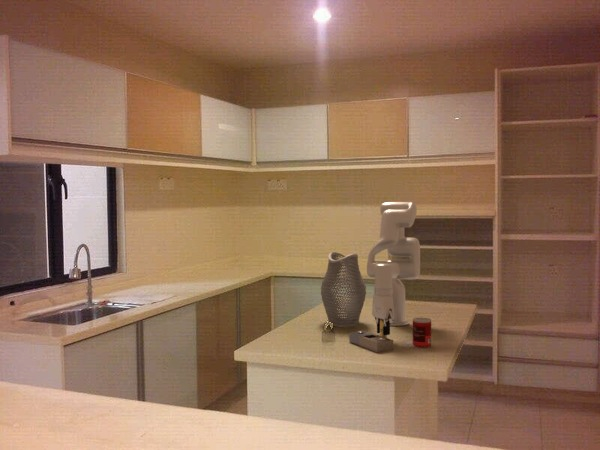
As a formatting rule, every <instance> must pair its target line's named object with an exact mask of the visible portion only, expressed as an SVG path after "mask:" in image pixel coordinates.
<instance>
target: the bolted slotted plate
mask: <svg viewBox="0 0 600 450" xmlns="http://www.w3.org/2000/svg"><path fill="white" fill-rule="evenodd" d="M349 343H351V344H354V345H356V346H358V347H362V348H365V349H367V350H369V351H372V352H375V353H383V352H389V350H390V351H394V340H393V339H390V338H388V337H387V338H385V337H382V336H380V334H379V335H378V334H375V333H372V332H370V331H367V330H358V331H353V332H349Z"/></svg>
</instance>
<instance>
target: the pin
mask: <svg viewBox="0 0 600 450" xmlns="http://www.w3.org/2000/svg"><path fill="white" fill-rule="evenodd" d="M386 319H387V318H386ZM386 322H387V320H386ZM383 326H384V320H383V319H380V333H379V336H382V337H385V338H388V335H383Z"/></svg>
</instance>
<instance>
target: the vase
mask: <svg viewBox="0 0 600 450" xmlns="http://www.w3.org/2000/svg"><path fill="white" fill-rule="evenodd" d="M358 260H359V255H358V254H357V253H349V254H348V255H343V254H341V253H339V252H332V251H331V252H330V253H329V254H328V263H327V268H326V272H325V274H324V277H323V280H322V282H321V286H320V295H321V300H322V304H323V308H324V309H325V310H324V311H325V313H326V317H327V321H328V323H329V322H331V323H333V325H334V326H333V327H340V328H349V327H355V326H358V325H359V322H360V317H361V313H362V310H363V308H364V307H363V306H364V303H365V301H366V295H367V291H366V290H367V287H366V282H365V280H364V278H363V275H362V273H361V271H360V265H359V261H358Z"/></svg>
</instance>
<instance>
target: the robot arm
mask: <svg viewBox="0 0 600 450" xmlns="http://www.w3.org/2000/svg"><path fill="white" fill-rule="evenodd" d="M379 209H380V214H381V215H380V216H381V219H380V230H379V239H378V241H376V243H375V244H374V245H373V246H372V247H371V249H370V250H369V253H368V256H367V261H366V262H367V264H366V273H367V276H368V277H370V278H372V279H374V294H373V298H372V304H371V305H372V307H371V308H372V309H371V315H372V317H373V318H374V319H375V323H376V333H377V334H380V319H383V320H384V326H383V335H387V336H390V334H391V326H392V327H401V326H403V327H404V326H407V325H408V324H409V320H407V319H406V288H405V287H406V286H405V285H404V283H403V282H402V280H417V279H418V278H420V275H421V245H420V240H419V239H418V238H417V237H408V236H405V228H412V226H413V225H414V223H415V219H416V218H417V217H416V216H417V212H418V210H417V205H416V203H415V202H413V201H387V202H383V203H381V204H380V206H379ZM385 250H386V251H387V254H388V255H389V256H391V257H398V258H399V257H400V258H401V259H397V258H396V259H387V260H386V261H385V260H380V261H379V260H378V261H377V260H376V257H377V256H378V254H379V253H381V252H383V251H385ZM402 258H409V259H402ZM386 318H387V319H386ZM386 320H387V322H386Z"/></svg>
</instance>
